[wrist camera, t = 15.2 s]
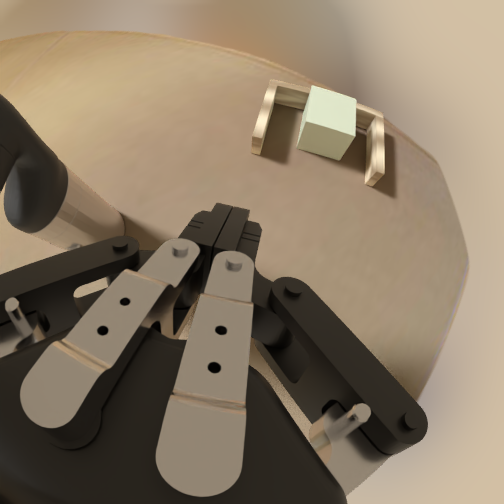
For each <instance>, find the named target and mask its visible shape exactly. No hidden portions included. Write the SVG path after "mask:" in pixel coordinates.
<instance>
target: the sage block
mask: <svg viewBox="0 0 504 504" xmlns="http://www.w3.org/2000/svg"><path fill="white" fill-rule="evenodd" d="M355 129H356V99H354V98H351V97H348V96H345V95H342V94H339V93H336V92H333V91H330V90H326V89H323V88H320V87H316V86H312V87H311V90H310V94H309V97H308V100H307V103H306V106H305V109H304V112H303V117H302V123H301V128H300V133H299V138H298V143H297V149H301V150H304V151H308V152H312V153H315V154H319V155H322V156H325V157H329V158H332V159H335V160H339V161H340V159H341V158H342V156H343V155H344V153H345V152H346V150H347V148H348V147H349V145H350V144H351V142H352V141H353V139H354V138H355Z"/></svg>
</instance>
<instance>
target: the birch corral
mask: <svg viewBox="0 0 504 504" xmlns="http://www.w3.org/2000/svg"><path fill="white" fill-rule="evenodd" d="M310 90H311V88H307V87H303V86H299V85H295V84H291V83H287V82H282V81H278V80H273V79H271V80H270V83H269V86H268V89H267V92H266V95H265V98H264V101H263V104H262V107H261V111H260V114H259V117H258V120H257V123H256V127H255V130H254V133H253V136H252V149H251V153H254V154H258V155H260V153H261V149H262V145H263V142H264V138H265V134H266V131H267V127H268V124H269V120H270V117H271V113H272V110H273V106H274V103H277V104H281V105H286V106H290V107H294V108H298V109H302V110H304V109H305V106H306V103H307V100H308V97H309V94H310ZM356 126H358V127H360V128H363V129H366V130H367V139H366V169H365V184H366V185H369V186H373V185H374V184H375V183H376V182H377V181H378V180H379V179H380V178H381V177H382V176H383V175H384V173H385V153H384V123H383V113H382V112H379V111H377V110H374V109H372V108H369V107H367V106H364V105H361V104H358V103H356Z"/></svg>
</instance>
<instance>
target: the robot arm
mask: <svg viewBox="0 0 504 504" xmlns="http://www.w3.org/2000/svg"><path fill="white" fill-rule="evenodd" d="M5 182H6V186H5V193H4V210H5V215H6V217H7V219H8V221H9V222H10V224H11V225H12V226H14V227H15V228H17V229H19V230H21V231H23V232H26V233H28V234H31V235H33V236H35V237H38V238H40V239H42V240H45V241H47V242H49V243H50V244H53V245H55V246H58V247H60V248H63V249H65V250H68V251H67V252H64V253H61V254H58V255H55V256H52V257H49V258H46V259H43V260H40V261H37V262H34V263H31V264H28V265H25V266H23V267H20V268H17V269H14V270H12V271H9V272H6V273H4V274H1V275H0V504H347V499H346V496H347V495H348V494H349V493H350V492H352V491H353V490H354V489H355V488H356V487H358V486H359V485H360V484H361V483H362V482H363V481H365V480H366V479H367V478H368V477H369V476H370V475H371V474H372V473H373V472H375V471H376V470H377V469H378V468H379V467H380V466H381V465H382V464H383V463H384V462H385V461H386V460H387V459H388V458H390V457H392V456H393V455H395V454H398V453H399V452H401V451H403V450H405V449H407V448H409V447H411V446H413V445H414V444H416V443H418V442H420V441H421V440H422V439H423V438H424V436H425V434H426V432H427V427H428V422H427V417H426V415H425V412H424V411H423V409H422V408H421V407H420V406H419V405H418V403H417V402H416V401H415V400H414V399H413V398H412V397H411V396H410V395H409V393H408V392H407V391H406V390H405V389H404V388H403V387H402V386H401V385H400V384H399V382H398V381H397V380H396V379H395V378H394V377H393V376H392V375H391V374H390V373H389V371H388V370H387V369H386V368H385V367H384V366H383V365H382V364H381V363H380V362H379V361H378V359H377V358H376V357H375V356H374V355H373V354H372V353H371V352H370V351H369V350H368V349H367V348H366V346H365V345H364V344H363V343H362V342H361V341H360V340H359V339H358V338H357V337H356V336H355V335H354V334H353V333H352V331H351V330H350V329H349V328H348V327H347V326H346V325H345V324H344V323H343V322H342V321H341V320H340V319H339V318H338V317H337V316H336V314H335V313H334V312H333V311H332V310H331V309H330V308H329V307H328V306H327V305H326V304H325V303H324V302H323V301H322V300H321V299H320V298H319V297H318V295H317V294H316V293H315V292H314V291H313V290H312V289H311V288H310V287H309V286H308V285H307V284H306V283H304V282H303V281H301V280H298V279H296V278H292V277H281V278H278V279H276V280H275V281H274V282H272V281H270V280H268V279H266V278H264V277H263V276H262V275H261V274H259V272H258V271H257V270H256V268H255V259H256V255H257V250H258V246H259V241H260V237H261V232H262V229H261V227H260V225H259V223H256V222H252V221H248V217H249V212H250V210H247V209H243V208H239V207H233V206H230V205H225V204H221V203H216V205H215V206H214V208H213V209H212V211H211V212H208V211H204V210H203V211H201V212H199V213H197V214H195V215H194V217H193V218H192V219H191V221H190V222H189V223H188V226H186V228H185V229H184V230H183V232H182V233H181V234H180V236H179V237H178V238H177V239H171V240H168V241H166V242H164V243H163V244H162V245H161V246H160V247H159V248H158V250H156V251H150V250H139V243H138V241H137V240H135V239H134V238H132V237H129V236H124V232H125V227H124V221H123V219H122V217H121V215H120V214H119V212H118V211H116V210H115V209H114V208H113V207H112V206H111V205H109V204H108V203H107V202H106V201H105V200H104V199H102V198H101V197H100V196H99V195H98V194H97V193H96V192H94V191H93V190H92V189H91V188H90V187H89V186H88V185H86V184H85V183H84V182H83V181H82V180H81V179H80V178H79V177H77V176H76V175H75V174H74V173H73V172H72V171H71V170H70V169H69V168H68V167H67V166H65V165H64V164H63V163H62V162H61V161H60V160H59V159H58V157H57V156H56V154H55V153H54V152H53V151H52V150H51V149H50V148H49V147H48V146H47V145H46V144H45V143H44V142H43V141H42V140H41V139H40V137H39V136H38V135H37V134H36V133H35V131H34V130H33V129H32V128H31V127H30V125H29V124H28V123H27V122H26V120H25V119H24V118H23V117H22V116H21V114H20V113H19V112H18V111H17V110H16V109H15V107H14V106H13V105H12V104H11V103H10V102H9V101H8V100H7V99H6V98H4V97H3V96H2V95H1V94H0V191H2V189H3V187H4V184H5ZM105 277H106V278H107V283H108V287H107V288H105V289H102V290H99V291H96V292H94V293H91V294H88V295H85V296H83V297H80V298H75V297H74V296H73V294H74V291H75V290H76V289H77V288H78V287H80V286H82V285H85V284H88V283H91V282H93V281H96V280H99V279H102V278H105ZM199 294H200V298H199V301H198V304H197V308H196V311H195V314H194V318H193V321H192V325H191V328H190V332H189V335H188V339H187V340H179V337H180V335H181V333H182V331H183V329H184V327H185V325H186V323H187V322H188V320H189V318H190V316H191V314H192V312H193V310H194V308H195V301H196V300H197V297H198V295H199ZM251 337H252V338H254V339H255V340H254V342H255V346H256V347H257V349H258V350H259V352H260V353H261V355H262V356H263V358H264V359H265V361H266V362H267V363H268V365H269V366H270V368H271V369H272V370H273V372H274V373H275V375H276V376H277V378H278V379H279V380H280V382H281V383H282V384H283V386H284V387H285V389H286V390H287V391H288V393H289V394H290V395H291V397H292V398H293V400H294V401H295V402H296V404H297V405H298V406H299V408H300V409H301V410H302V412H303V413H304V414H305V416H306V417H307V418H308V420H309V421H310V422H311V423H312V426H311V428H310V431H309V440H310V443H311V444H310V443H309V441H308V440H307V439H306V437H305V436H304V434H303V433H302V431H301V430H300V428H299V427H298V426H297V424H296V423H295V421H294V420H293V418H292V417H291V415H290V414H289V412H288V411H287V409H286V408H285V406H284V405H283V403H282V402H281V400H280V399H279V397H278V396H277V394H276V393H275V391H274V389H273V388H272V386H271V385H270V384H269V382H268V381H267V380H266V379H265V378H264V377H263V376H262V375H261V374H260V373H259V372H258V371H257V370H255V369H254V368H253V367H251V366H250V365H249V353H250V341H251ZM311 445H312V446H311Z"/></svg>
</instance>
